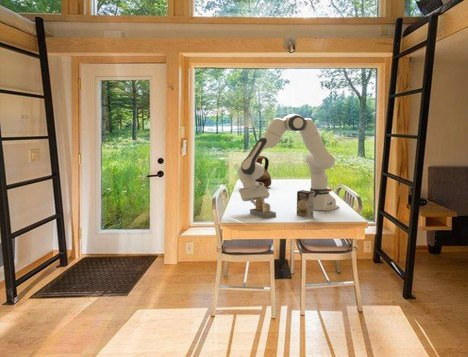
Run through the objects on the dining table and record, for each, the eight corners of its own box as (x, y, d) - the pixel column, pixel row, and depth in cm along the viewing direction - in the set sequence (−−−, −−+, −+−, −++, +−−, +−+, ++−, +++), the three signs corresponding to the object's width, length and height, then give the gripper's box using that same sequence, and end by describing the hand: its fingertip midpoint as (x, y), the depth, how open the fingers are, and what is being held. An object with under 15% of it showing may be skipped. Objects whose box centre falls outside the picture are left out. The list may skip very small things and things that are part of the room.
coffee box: (295, 216, 230) (296, 191, 228) (301, 214, 235) (302, 189, 232) (308, 218, 224) (308, 193, 222) (313, 216, 228) (314, 191, 226)
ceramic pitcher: (245, 187, 338) (245, 155, 334) (260, 185, 351) (261, 154, 347) (260, 190, 323) (260, 157, 319) (275, 188, 336) (276, 155, 332)
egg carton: (260, 212, 239) (260, 207, 239) (275, 217, 226) (275, 212, 225) (250, 214, 235) (250, 209, 234) (264, 219, 221) (265, 214, 221)
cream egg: (267, 214, 230) (267, 201, 229) (271, 216, 226) (271, 203, 225) (260, 215, 228) (261, 202, 227) (265, 217, 224) (265, 204, 223)
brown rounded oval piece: (260, 210, 236) (260, 197, 235) (264, 211, 232) (264, 198, 231) (254, 211, 234) (254, 198, 233) (258, 212, 230) (258, 199, 229)
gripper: (239, 185, 231) (248, 203, 224) (265, 183, 242) (274, 199, 235) (236, 191, 235) (244, 209, 229) (261, 188, 246) (270, 205, 239)
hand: (259, 204), depth 232 cm, fingers closed on brown rounded oval piece, 5 cm apart
